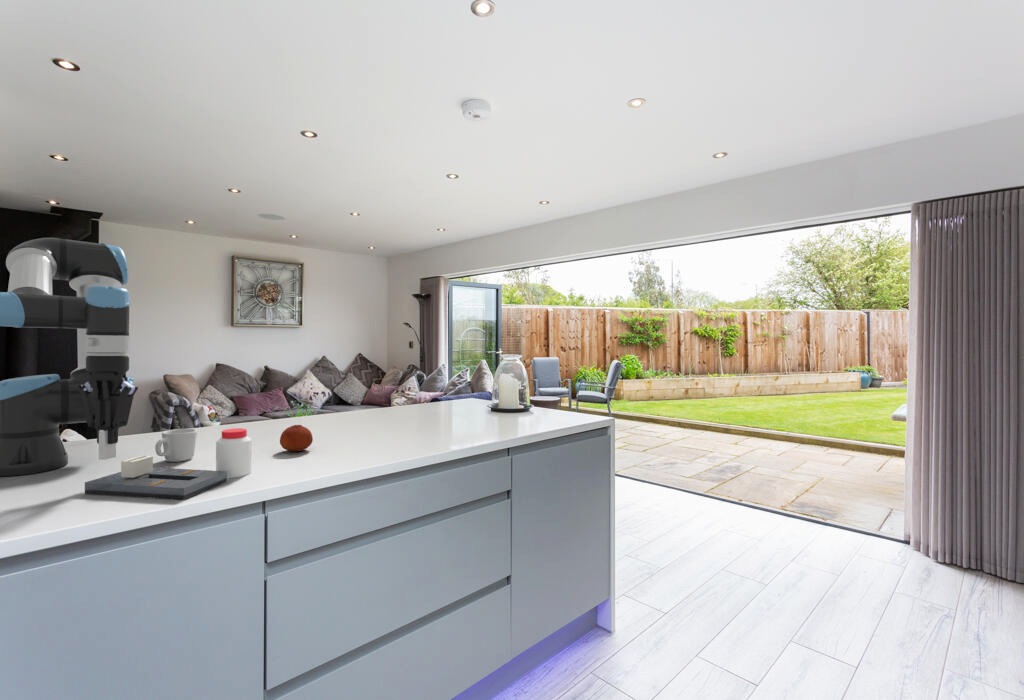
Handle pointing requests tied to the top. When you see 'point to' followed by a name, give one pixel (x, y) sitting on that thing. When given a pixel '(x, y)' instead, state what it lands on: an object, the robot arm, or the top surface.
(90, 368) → the robot arm
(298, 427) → the fruit
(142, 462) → the fader
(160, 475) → the console
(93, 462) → the top surface
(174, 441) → the cup
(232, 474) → the pill bottle
